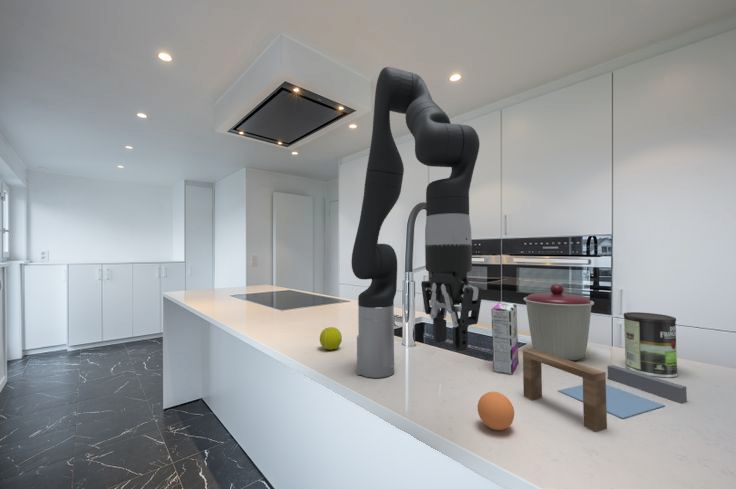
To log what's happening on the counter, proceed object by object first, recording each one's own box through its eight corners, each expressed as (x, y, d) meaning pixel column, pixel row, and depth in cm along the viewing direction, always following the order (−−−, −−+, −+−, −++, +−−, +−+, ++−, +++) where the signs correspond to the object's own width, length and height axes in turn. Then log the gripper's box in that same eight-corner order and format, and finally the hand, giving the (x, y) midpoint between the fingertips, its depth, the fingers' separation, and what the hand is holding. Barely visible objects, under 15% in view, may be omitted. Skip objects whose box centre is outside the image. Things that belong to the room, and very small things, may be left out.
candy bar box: (499, 359, 93) (498, 302, 94) (518, 362, 90) (517, 303, 91) (491, 371, 84) (490, 307, 84) (512, 375, 81) (511, 309, 81)
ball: (481, 436, 54) (480, 399, 54) (475, 417, 60) (474, 385, 60) (519, 438, 53) (518, 401, 54) (509, 420, 59) (508, 387, 59)
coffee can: (686, 374, 81) (684, 317, 81) (664, 380, 77) (662, 321, 77) (638, 361, 90) (637, 310, 91) (616, 367, 86) (614, 313, 87)
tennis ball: (323, 353, 100) (323, 330, 100) (317, 347, 106) (317, 326, 106) (344, 350, 103) (344, 328, 103) (337, 345, 109) (337, 324, 109)
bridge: (595, 432, 55) (593, 374, 55) (523, 396, 69) (522, 350, 69) (607, 428, 56) (605, 372, 57) (534, 393, 70) (533, 348, 70)
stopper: (681, 403, 65) (680, 388, 65) (607, 378, 78) (607, 366, 78) (686, 401, 66) (686, 386, 66) (613, 377, 79) (612, 365, 79)
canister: (517, 357, 95) (515, 285, 96) (533, 343, 109) (531, 280, 109) (591, 371, 83) (589, 289, 84) (599, 354, 97) (597, 283, 98)
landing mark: (622, 419, 59) (622, 418, 59) (558, 391, 71) (557, 390, 71) (664, 406, 64) (664, 405, 64) (597, 382, 76) (597, 381, 76)
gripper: (497, 241, 49) (499, 355, 48) (442, 244, 62) (443, 333, 62) (455, 241, 46) (457, 362, 46) (407, 244, 59) (408, 337, 59)
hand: (449, 345), depth 54 cm, fingers open, 5 cm apart
